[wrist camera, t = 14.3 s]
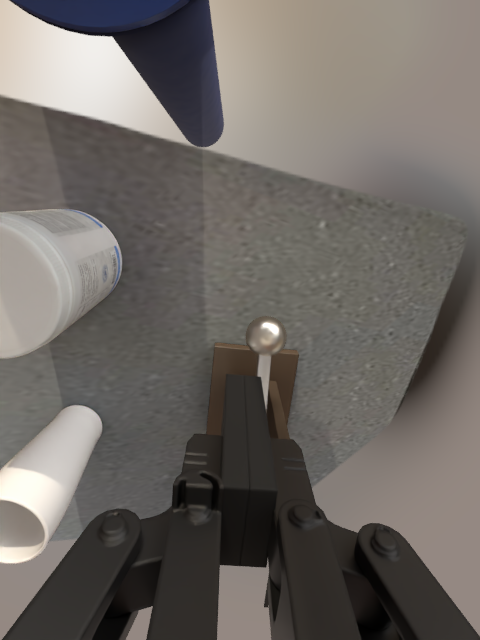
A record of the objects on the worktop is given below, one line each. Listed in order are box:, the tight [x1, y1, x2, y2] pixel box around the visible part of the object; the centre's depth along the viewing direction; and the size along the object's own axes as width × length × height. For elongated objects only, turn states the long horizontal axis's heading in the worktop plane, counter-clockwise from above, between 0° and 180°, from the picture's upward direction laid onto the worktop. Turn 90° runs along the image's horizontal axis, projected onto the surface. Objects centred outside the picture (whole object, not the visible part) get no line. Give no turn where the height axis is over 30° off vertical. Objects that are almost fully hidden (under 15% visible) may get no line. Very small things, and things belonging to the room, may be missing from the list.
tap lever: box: [246, 316, 287, 414], centre depth 32 cm, size 13×4×4 cm, turn 174°
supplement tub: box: [0, 209, 122, 359], centre depth 30 cm, size 10×10×15 cm
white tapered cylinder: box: [0, 405, 102, 564], centre depth 36 cm, size 7×7×15 cm
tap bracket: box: [206, 343, 299, 439], centre depth 36 cm, size 11×9×13 cm
